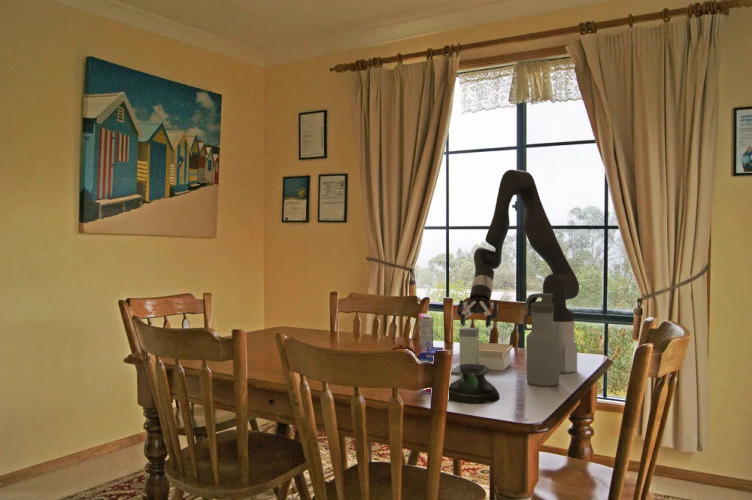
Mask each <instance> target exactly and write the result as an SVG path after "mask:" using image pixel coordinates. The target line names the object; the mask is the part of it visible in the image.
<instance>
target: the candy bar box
mask: <svg viewBox="0 0 752 500" xmlns="http://www.w3.org/2000/svg"><path fill="white" fill-rule="evenodd" d="M433 320H434V319H433V315H432V313H418V337H419V338H418V340H419V345H418V346H419V353H420V352H421V351H423V350H424V349H425V348H427V346H426V344H425V342H427V341H429V342H430V344H431V346H432V347H434V328H433V327H434V323H433V322H434V321H433ZM429 346H430V345H429V344H428V347H429Z"/></svg>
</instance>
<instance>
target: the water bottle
mask: <svg viewBox="0 0 752 500" xmlns="http://www.w3.org/2000/svg"><path fill="white" fill-rule="evenodd" d="M539 298H541V300H538V299H539ZM551 298H553V294H546V293H543V292H539V293H532V294H530V295H528V297H526V300H525V309H527V313H526V314H525V315H524V316H523V328H524V329H523V330H524V331H530V332H529V333H528V334H527V336H526V340H525V341H526V347H525V348H526V382H527V383H528V384H529V385H531V386H535V387H544V388H545V387H555V386H557V385H559V383H560V373H559V338H558V336H557V335H556V334H555V333H554V332H553V314H554V304H553V303H552V300H551ZM528 317H531V327H528V326H527V325H528V323H527V319H528Z"/></svg>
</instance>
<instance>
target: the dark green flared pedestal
mask: <svg viewBox="0 0 752 500" xmlns="http://www.w3.org/2000/svg"><path fill="white" fill-rule="evenodd" d="M458 366H460V364H459V365H458ZM485 370H486V366H484V365H478V364H461V366H460V367H459V371H460V374H461V375H459V376H460V378H459V379H457V380H455V381H453V382H451V383H450V384H449V385H450V387H449V386H448V387H449V400H448V401H449V402H453V403H458V405H459V407H460V406H461V407H463V406H465V405H464V404H466V405H485V404H491V403H496V402H498V401H499V400H500V393H499V391H498V390H497V387H495V386H494V385H493V384H492V383H491V382H489V380H487V379H486V376H485V374H484V371H485ZM462 404H463V405H462Z"/></svg>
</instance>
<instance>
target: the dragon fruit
mask: <svg viewBox="0 0 752 500" xmlns="http://www.w3.org/2000/svg"><path fill="white" fill-rule="evenodd" d="M397 349H408V350H410V351H412V352H413V353H414V354H415V355H416V352H415V350H414V349H413V348H412V347H411V346H409V345H408V344H407V343H403V344H401V343H398V344H397V346H395V347H392V348H391V350H397Z"/></svg>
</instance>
